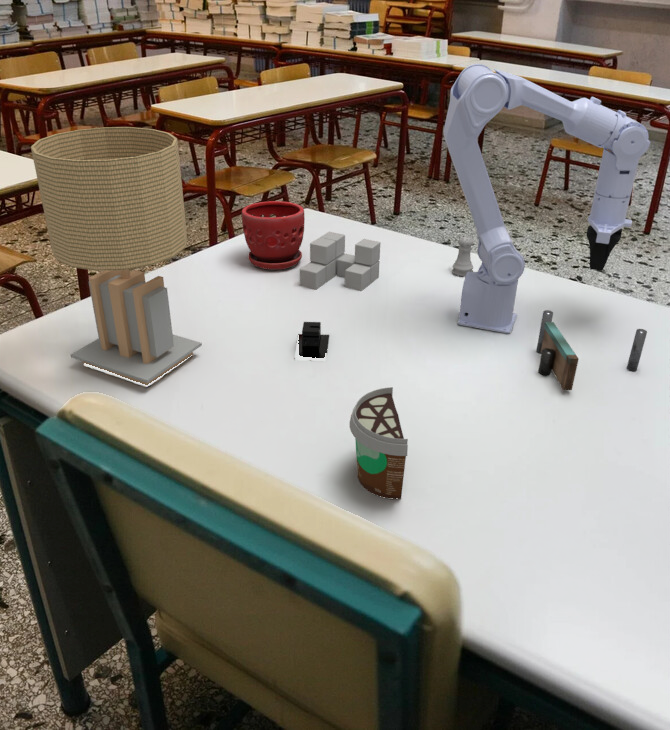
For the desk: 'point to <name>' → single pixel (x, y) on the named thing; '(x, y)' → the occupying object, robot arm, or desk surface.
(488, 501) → the desk surface
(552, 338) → the open box
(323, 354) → the black stepped block
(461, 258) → the rook chess piece
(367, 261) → the grey cube structure
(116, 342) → the desk lamp
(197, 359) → the desk surface
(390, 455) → the food container
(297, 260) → the plant pot
